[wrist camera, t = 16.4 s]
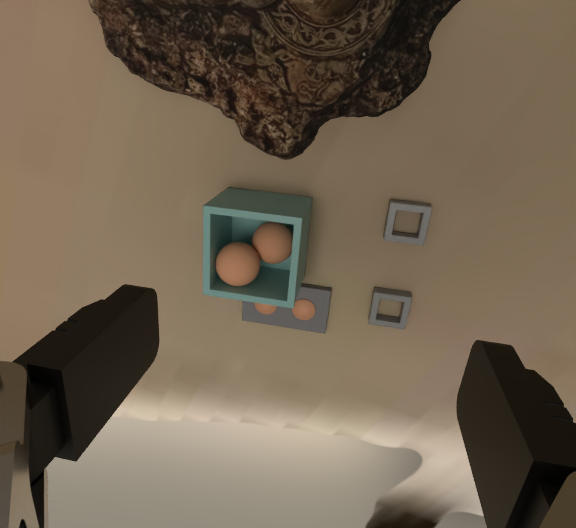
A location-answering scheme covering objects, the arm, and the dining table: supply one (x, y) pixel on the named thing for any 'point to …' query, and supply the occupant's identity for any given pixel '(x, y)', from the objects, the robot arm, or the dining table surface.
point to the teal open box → (240, 228)
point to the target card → (294, 310)
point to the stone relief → (278, 57)
